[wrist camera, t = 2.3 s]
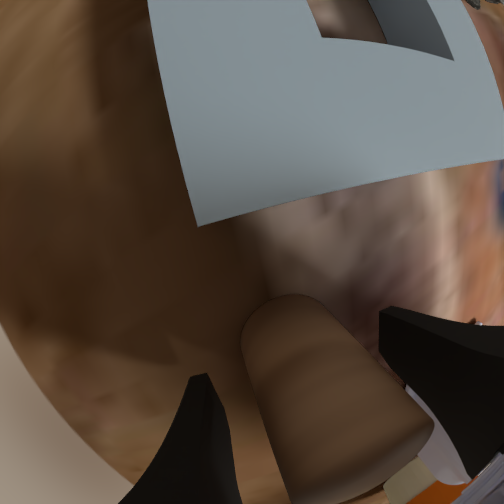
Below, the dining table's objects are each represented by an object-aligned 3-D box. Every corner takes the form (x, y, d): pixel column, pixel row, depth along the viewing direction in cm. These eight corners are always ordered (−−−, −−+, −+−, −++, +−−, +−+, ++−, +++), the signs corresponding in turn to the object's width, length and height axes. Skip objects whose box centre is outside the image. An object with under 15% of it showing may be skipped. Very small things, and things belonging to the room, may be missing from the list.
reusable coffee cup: (401, 458, 19) (464, 542, 5) (461, 425, 22) (517, 483, 7) (355, 504, 22) (396, 573, 7) (417, 475, 25) (458, 529, 10)
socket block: (462, 155, 11) (511, 157, 7) (197, 209, 9) (198, 226, 6) (384, -42, 7) (414, -64, 3) (144, -54, 5) (138, -97, 2)
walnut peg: (333, 355, 12) (417, 462, 5) (252, 384, 11) (300, 518, 5) (324, 281, 11) (450, 388, 4) (228, 312, 10) (278, 477, 4)
